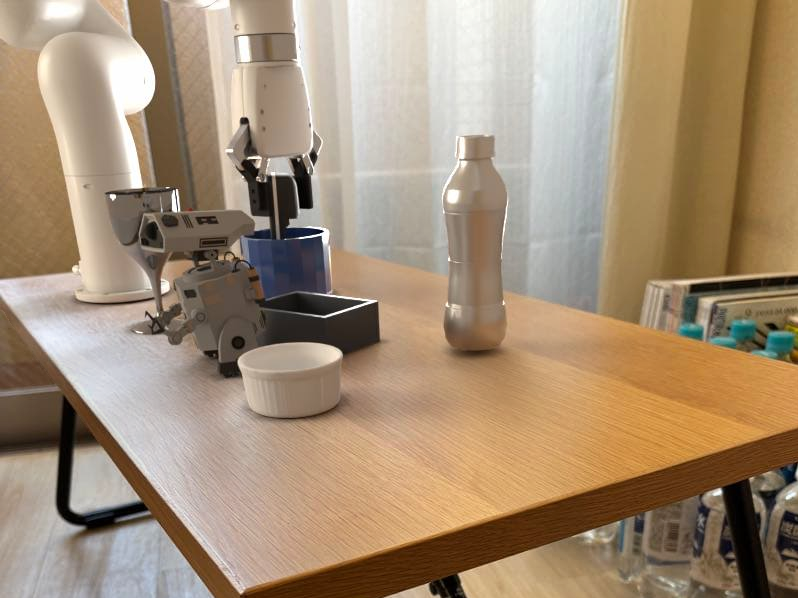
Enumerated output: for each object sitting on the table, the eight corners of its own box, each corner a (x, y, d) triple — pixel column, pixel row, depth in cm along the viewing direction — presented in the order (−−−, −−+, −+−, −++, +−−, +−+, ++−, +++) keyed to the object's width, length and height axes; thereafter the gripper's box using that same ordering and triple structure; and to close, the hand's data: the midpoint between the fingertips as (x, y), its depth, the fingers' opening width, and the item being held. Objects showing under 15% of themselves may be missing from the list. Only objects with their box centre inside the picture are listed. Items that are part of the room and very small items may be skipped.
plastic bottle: (513, 342, 94) (517, 133, 85) (497, 359, 88) (500, 137, 79) (454, 339, 96) (452, 134, 87) (435, 356, 90) (431, 138, 81)
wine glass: (210, 320, 107) (192, 187, 101) (168, 336, 101) (146, 195, 94) (157, 316, 111) (136, 187, 104) (113, 331, 104) (88, 194, 97)
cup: (228, 300, 118) (220, 236, 114) (287, 284, 126) (282, 225, 123) (292, 308, 112) (286, 242, 108) (350, 291, 120) (346, 229, 116)
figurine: (147, 364, 91) (121, 208, 84) (257, 349, 95) (241, 199, 88) (160, 388, 84) (133, 219, 77) (280, 370, 87) (263, 208, 80)
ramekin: (356, 413, 75) (353, 363, 73) (250, 427, 73) (244, 375, 71) (333, 384, 82) (330, 337, 80) (237, 396, 80) (231, 348, 78)
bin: (327, 360, 90) (324, 317, 88) (245, 346, 96) (240, 305, 94) (380, 341, 96) (378, 300, 94) (299, 328, 102) (296, 290, 100)
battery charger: (303, 270, 115) (297, 174, 109) (273, 271, 114) (266, 175, 109) (301, 261, 121) (295, 170, 116) (272, 262, 120) (265, 171, 115)
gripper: (293, 55, 114) (306, 203, 122) (190, 55, 102) (212, 220, 110) (338, 52, 110) (348, 205, 118) (237, 52, 98) (255, 222, 106)
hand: (282, 211), depth 114 cm, fingers closed on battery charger, 7 cm apart
